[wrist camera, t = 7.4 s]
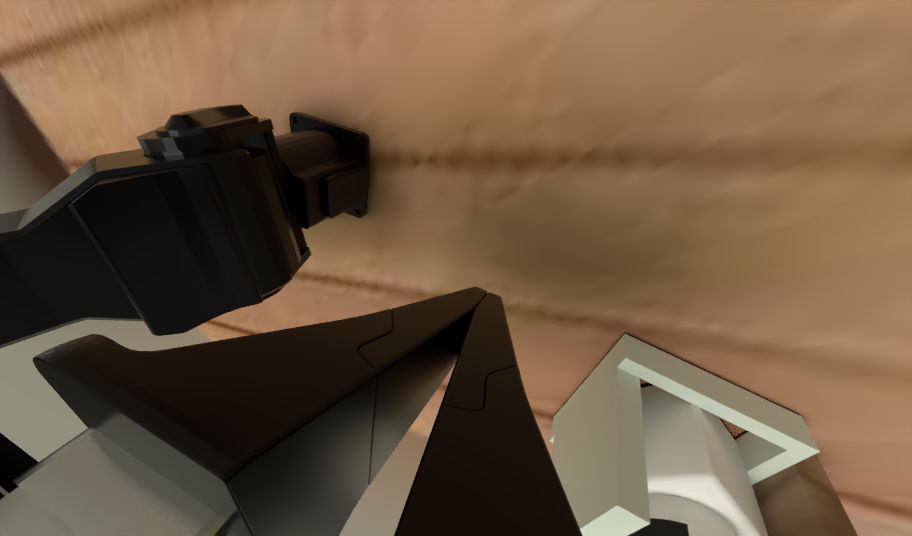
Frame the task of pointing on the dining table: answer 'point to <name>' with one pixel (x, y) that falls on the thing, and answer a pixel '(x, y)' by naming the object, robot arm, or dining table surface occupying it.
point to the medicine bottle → (694, 472)
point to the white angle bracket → (622, 435)
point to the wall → (802, 502)
